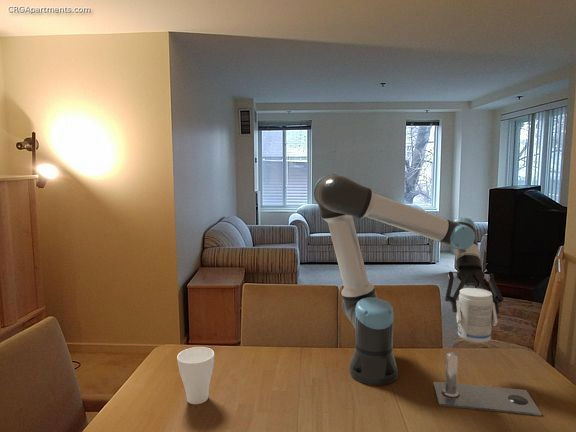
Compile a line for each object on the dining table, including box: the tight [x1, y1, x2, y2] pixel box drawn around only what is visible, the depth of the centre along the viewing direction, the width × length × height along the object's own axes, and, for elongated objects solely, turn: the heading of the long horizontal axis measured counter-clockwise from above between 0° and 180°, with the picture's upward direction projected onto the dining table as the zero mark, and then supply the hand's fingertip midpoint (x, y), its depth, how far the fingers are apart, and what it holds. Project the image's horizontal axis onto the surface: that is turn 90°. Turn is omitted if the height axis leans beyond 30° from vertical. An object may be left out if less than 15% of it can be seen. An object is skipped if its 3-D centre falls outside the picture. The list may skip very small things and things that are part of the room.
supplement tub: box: [457, 287, 493, 344], centre depth 131 cm, size 10×10×15 cm
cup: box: [176, 346, 215, 405], centre depth 122 cm, size 10×10×14 cm
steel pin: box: [443, 351, 459, 398], centre depth 122 cm, size 4×4×12 cm
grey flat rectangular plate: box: [433, 381, 543, 417], centre depth 121 cm, size 26×12×1 cm, turn 78°
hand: (477, 323), depth 128 cm, fingers closed on supplement tub, 9 cm apart
